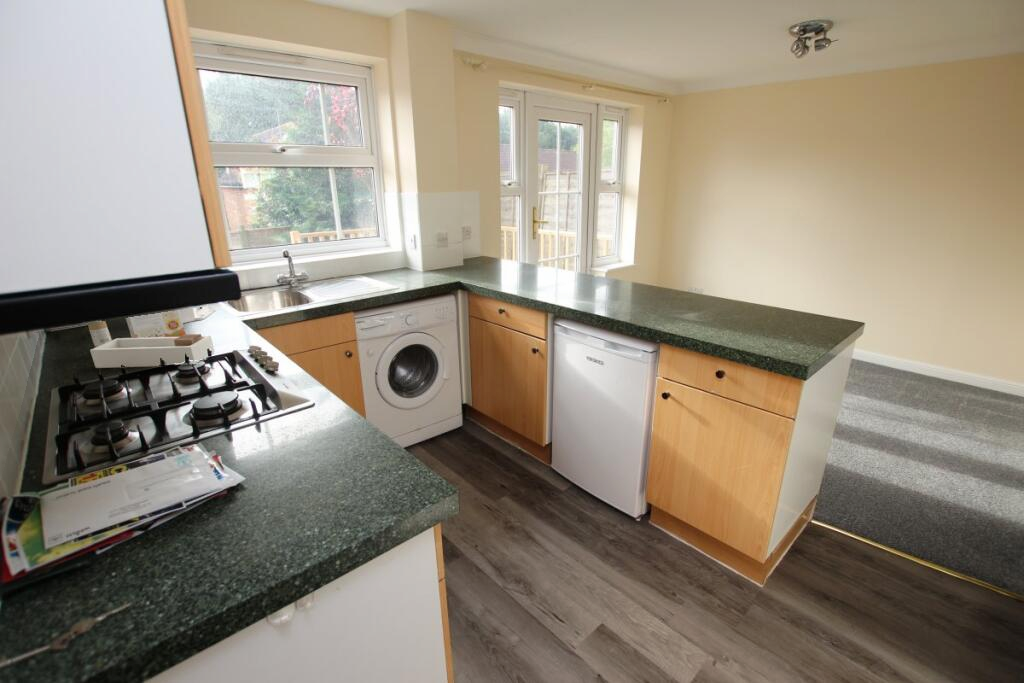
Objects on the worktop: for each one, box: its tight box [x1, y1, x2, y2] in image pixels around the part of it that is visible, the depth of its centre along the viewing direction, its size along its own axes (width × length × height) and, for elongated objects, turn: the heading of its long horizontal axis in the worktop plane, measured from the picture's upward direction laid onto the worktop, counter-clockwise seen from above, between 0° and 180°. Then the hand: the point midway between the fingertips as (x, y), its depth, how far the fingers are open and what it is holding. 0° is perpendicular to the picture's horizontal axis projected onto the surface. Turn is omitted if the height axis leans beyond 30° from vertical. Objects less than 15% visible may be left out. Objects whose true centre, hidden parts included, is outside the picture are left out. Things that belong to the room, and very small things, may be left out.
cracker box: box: [125, 310, 187, 338], centre depth 156 cm, size 14×6×21 cm, turn 141°
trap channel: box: [89, 335, 215, 369], centre depth 141 cm, size 28×10×6 cm, turn 93°
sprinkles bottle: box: [87, 320, 113, 348], centre depth 145 cm, size 5×5×14 cm
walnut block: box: [174, 333, 203, 346], centre depth 140 cm, size 5×5×4 cm
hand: (116, 244), depth 140 cm, fingers closed
